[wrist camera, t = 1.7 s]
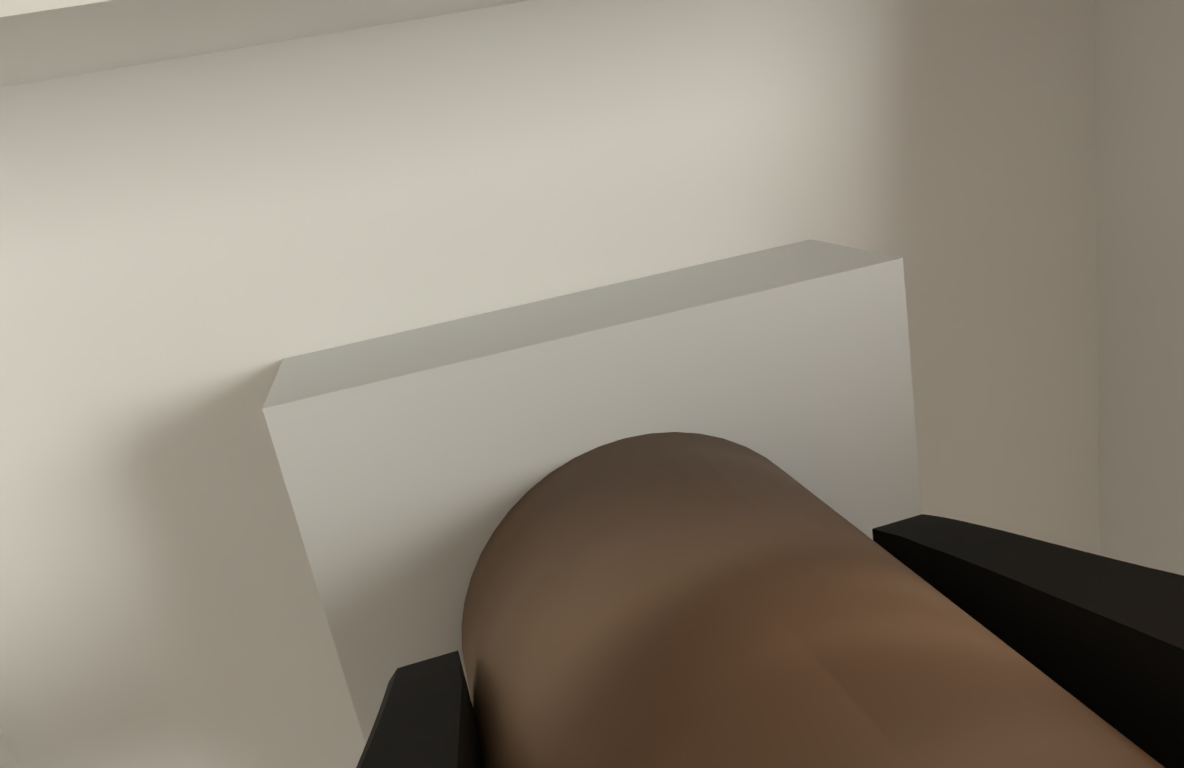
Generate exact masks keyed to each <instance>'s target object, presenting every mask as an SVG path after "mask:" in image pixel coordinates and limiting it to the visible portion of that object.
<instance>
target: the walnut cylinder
mask: <svg viewBox="0 0 1184 768" xmlns="http://www.w3.org/2000/svg"><path fill="white" fill-rule="evenodd" d="M461 628H462V653H463V658H464V664H465V669H466V675H467V681H468V686H469V692H470V697H471V702H472V706H473V710H474V716H475V721H476V727H477V732H478V738H479V743H480V749H481V754H482V760H483V765H484V768H1165V767H1164V766H1162V765H1161V764H1160V763H1158V762H1157V761H1156V760H1155V759H1153V758H1152V757H1151V756H1149V755H1148V754H1147V753H1146V752H1144V751H1143V750H1142V749H1140V748H1139V747H1138V746H1137V745H1135V744H1134V743H1133V742H1131V741H1130V740H1129V739H1128V738H1126V737H1125V736H1124V735H1122V734H1121V733H1120V732H1119V731H1117V730H1116V729H1115V728H1113V727H1112V726H1111V725H1110V724H1108V723H1107V722H1106V721H1104V720H1103V719H1102V718H1101V717H1099V716H1098V715H1097V714H1095V713H1094V712H1093V711H1092V710H1090V709H1089V708H1088V707H1086V706H1085V705H1084V704H1083V703H1081V702H1080V701H1079V700H1078V699H1076V698H1075V697H1074V696H1072V695H1071V694H1070V693H1069V692H1067V691H1066V690H1065V689H1063V688H1062V687H1061V686H1060V685H1058V684H1057V683H1056V682H1054V681H1053V680H1052V679H1051V678H1049V677H1048V676H1047V675H1045V674H1044V673H1043V672H1042V671H1040V670H1039V669H1038V668H1036V667H1035V666H1034V665H1033V664H1031V663H1030V662H1029V661H1027V660H1026V659H1025V658H1024V657H1022V656H1021V655H1020V654H1018V653H1017V652H1016V651H1015V650H1013V649H1012V648H1011V647H1009V646H1008V645H1007V644H1006V643H1004V642H1003V641H1002V640H1000V639H999V638H998V637H997V636H995V635H994V634H993V633H991V632H990V631H989V630H988V629H986V628H985V627H984V626H982V625H981V624H980V623H979V622H977V621H976V620H975V619H973V618H972V617H971V616H970V615H968V614H967V613H966V612H964V611H963V610H962V609H961V608H959V607H958V606H957V605H955V604H954V603H953V602H952V601H950V600H949V599H948V598H946V597H945V596H944V595H943V594H941V593H940V592H939V591H937V590H936V589H935V588H934V587H932V586H931V585H930V584H928V583H927V582H926V581H925V580H923V579H922V578H921V577H920V576H918V575H917V574H916V573H914V572H913V571H912V570H911V569H909V568H908V567H907V566H905V565H904V564H903V563H902V562H900V561H899V560H898V559H896V558H895V557H894V556H893V555H891V554H890V553H889V552H887V551H886V550H885V549H884V548H882V547H881V546H880V545H878V544H877V543H876V542H875V541H873V540H872V539H871V538H869V537H868V536H867V535H866V534H864V533H863V532H862V531H860V530H859V529H858V528H857V527H855V526H854V525H853V524H851V523H850V522H849V521H848V520H846V519H845V518H844V517H842V516H841V515H840V514H839V513H837V512H836V511H835V510H833V509H832V508H831V507H830V506H828V505H827V504H826V503H824V502H823V501H822V500H821V499H819V498H818V497H817V496H815V495H814V494H813V493H812V492H810V491H809V490H808V489H806V488H805V487H804V486H803V485H801V484H800V483H799V482H797V481H796V480H795V479H794V478H792V477H791V476H790V475H788V474H787V473H786V472H785V471H783V470H782V469H781V468H779V467H778V466H777V465H775V464H774V463H773V462H771V461H770V460H769V459H767V458H766V457H764V456H762V455H761V454H759V453H757V452H755V451H753V450H751V449H749V448H748V447H746V446H743V445H740V444H737V443H735V442H732V441H729V440H726V439H724V438H719V437H714V436H709V435H704V434H699V433H685V432H665V433H649V434H644V435H639V436H634V437H629V438H624V439H621V440H618V441H614V442H611V443H608V444H605V445H602V446H599V447H597V448H595V449H592V450H590V451H588V452H586V453H584V454H582V455H580V456H578V457H575V458H573V459H572V460H570V461H569V462H567V463H565V464H564V465H562V466H561V467H559V468H557V469H556V470H554V471H553V472H551V473H550V474H548V475H547V476H546V477H545V478H543V479H542V480H541V481H540V482H538V483H537V484H536V485H535V486H534V487H532V488H531V489H530V490H529V491H528V492H527V493H526V494H525V495H524V496H523V497H522V498H521V499H520V500H519V501H518V502H517V503H516V504H515V505H514V506H513V507H512V508H511V509H510V510H509V512H508V513H507V514H506V516H505V517H504V518H503V520H502V521H501V522H500V524H499V525H498V526H497V528H496V529H495V530H494V532H493V533H492V535H491V537H490V539H489V540H488V542H487V544H486V546H485V547H484V549H483V551H482V553H481V554H480V557H479V559H478V562H477V564H476V567H475V569H474V571H473V574H472V576H471V579H470V583H469V587H468V590H467V594H466V598H465V602H464V610H463V618H462V627H461Z"/></svg>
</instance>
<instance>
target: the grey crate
mask: <svg viewBox="0 0 1184 768" xmlns="http://www.w3.org/2000/svg"><path fill="white" fill-rule="evenodd" d="M665 432H685V433H699V434H704V435H709V436H714V437H719V438H724V439H726V440H729V441H732V442H735V443H737V444H740V445H743V446H746V447H748V448H749V449H751V450H753V451H755V452H757V453H759V454H761V455H762V456H764V457H766V458H767V459H769V460H770V461H771V462H773V463H774V464H775V465H777V466H778V467H779V468H781V469H782V470H783V471H785V472H786V473H787V474H788V475H790V476H791V477H792V478H794V479H795V480H796V481H797V482H799V483H800V484H801V485H803V486H804V487H805V488H806V489H808V490H809V491H810V492H812V493H813V494H814V495H815V496H817V497H818V498H819V499H821V500H822V501H823V502H824V503H826V504H827V505H828V506H830V507H831V508H832V509H833V510H835V511H836V512H837V513H839V514H840V515H841V516H842V517H844V518H845V519H846V520H848V521H849V522H850V523H851V524H853V525H854V526H855V527H857V528H858V529H859V530H860V531H862V532H863V533H864V534H866V535H867V536H868V537H869V538H871V539H872V540H873V534H872V529H873V528H877V527H880V526H883V525H887V524H890V523H894V522H897V521H900V520H904V519H907V518H911V517H914V516H917V515H921V514H926V515H932V516H939V517H945V518H950V519H955V520H960V521H964V522H969V523H973V524H977V525H982V526H986V527H990V528H994V529H998V530H1002V531H1006V532H1010V533H1014V534H1018V535H1022V536H1026V537H1030V538H1034V539H1038V540H1041V541H1045V542H1049V543H1053V544H1057V545H1061V546H1065V547H1069V548H1073V549H1076V550H1080V551H1084V552H1088V553H1092V554H1096V555H1100V556H1104V557H1108V558H1112V559H1116V560H1120V561H1124V562H1128V563H1132V564H1137V565H1141V566H1145V567H1149V568H1153V569H1158V570H1162V571H1166V572H1170V573H1175V574H1179V575H1183V576H1184V0H0V768H356V767H357V765H358V762H359V760H360V757H361V755H362V752H363V750H364V747H365V745H366V743H367V740H368V738H369V735H370V733H371V730H372V728H373V725H374V722H375V720H376V717H377V714H378V712H379V709H380V706H381V703H382V700H383V697H384V695H385V692H386V688H387V685H388V682H389V680H390V679H391V677H392V676H393V674H394V673H395V671H396V670H397V668H400V667H403V666H406V665H410V664H413V663H417V662H420V661H424V660H427V659H430V658H434V657H437V656H441V655H444V654H447V653H451V652H454V651H458V652H459V656H460V660H461V664H462V667H463V671H464V675H465V679H466V683H467V687H468V690H469V686H468V681H467V675H466V669H465V664H464V658H463V653H462V628H461V627H462V618H463V610H464V602H465V598H466V594H467V590H468V587H469V583H470V579H471V576H472V574H473V571H474V569H475V567H476V564H477V562H478V559H479V557H480V554H481V553H482V551H483V549H484V547H485V546H486V544H487V542H488V540H489V539H490V537H491V535H492V533H493V532H494V530H495V529H496V528H497V526H498V525H499V524H500V522H501V521H502V520H503V518H504V517H505V516H506V514H507V513H508V512H509V510H510V509H511V508H512V507H513V506H514V505H515V504H516V503H517V502H518V501H519V500H520V499H521V498H522V497H523V496H524V495H525V494H526V493H527V492H528V491H529V490H530V489H531V488H532V487H534V486H535V485H536V484H537V483H538V482H540V481H541V480H542V479H543V478H545V477H546V476H547V475H548V474H550V473H551V472H553V471H554V470H556V469H557V468H559V467H561V466H562V465H564V464H565V463H567V462H569V461H570V460H572V459H573V458H575V457H578V456H580V455H582V454H584V453H586V452H588V451H590V450H592V449H595V448H597V447H599V446H602V445H605V444H608V443H611V442H614V441H618V440H621V439H624V438H629V437H634V436H639V435H644V434H649V433H665ZM469 694H470V692H469ZM470 698H471V697H470Z"/></svg>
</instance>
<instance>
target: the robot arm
mask: <svg viewBox="0 0 1184 768" xmlns="http://www.w3.org/2000/svg"><path fill="white" fill-rule="evenodd" d="M872 534H873V541H875V542H876V543H877V544H878V545H880V546H881V547H882V548H884V549H885V550H886V551H887V552H889V553H890V554H891V555H893V556H894V557H895V558H896V559H898V560H899V561H900V562H902V563H903V564H904V565H905V566H907V567H908V568H909V569H911V570H912V571H913V572H914V573H916V574H917V575H918V576H920V577H921V578H922V579H923V580H925V581H926V582H927V583H928V584H930V585H931V586H932V587H934V588H935V589H936V590H937V591H939V592H940V593H941V594H943V595H944V596H945V597H946V598H948V599H949V600H950V601H952V602H953V603H954V604H955V605H957V606H958V607H959V608H961V609H962V610H963V611H964V612H966V613H967V614H968V615H970V616H971V617H972V618H973V619H975V620H976V621H977V622H979V623H980V624H981V625H982V626H984V627H985V628H986V629H988V630H989V631H990V632H991V633H993V634H994V635H995V636H997V637H998V638H999V639H1000V640H1002V641H1003V642H1004V643H1006V644H1007V645H1008V646H1009V647H1011V648H1012V649H1013V650H1015V651H1016V652H1017V653H1018V654H1020V655H1021V656H1022V657H1024V658H1025V659H1026V660H1027V661H1029V662H1030V663H1031V664H1033V665H1034V666H1035V667H1036V668H1038V669H1039V670H1040V671H1042V672H1043V673H1044V674H1045V675H1047V676H1048V677H1049V678H1051V679H1052V680H1053V681H1054V682H1056V683H1057V684H1058V685H1060V686H1061V687H1062V688H1063V689H1065V690H1066V691H1067V692H1069V693H1070V694H1071V695H1072V696H1074V697H1075V698H1076V699H1078V700H1079V701H1080V702H1081V703H1083V704H1084V705H1085V706H1086V707H1088V708H1089V709H1090V710H1092V711H1093V712H1094V713H1095V714H1097V715H1098V716H1099V717H1101V718H1102V719H1103V720H1104V721H1106V722H1107V723H1108V724H1110V725H1111V726H1112V727H1113V728H1115V729H1116V730H1117V731H1119V732H1120V733H1121V734H1122V735H1124V736H1125V737H1126V738H1128V739H1129V740H1130V741H1131V742H1133V743H1134V744H1135V745H1137V746H1138V747H1139V748H1140V749H1142V750H1143V751H1144V752H1146V753H1147V754H1148V755H1149V756H1151V757H1152V758H1153V759H1155V760H1156V761H1157V762H1158V763H1160V764H1161V765H1162V766H1164V767H1165V768H1184V576H1183V575H1179V574H1175V573H1170V572H1166V571H1162V570H1158V569H1153V568H1149V567H1145V566H1141V565H1137V564H1132V563H1128V562H1124V561H1120V560H1116V559H1112V558H1108V557H1104V556H1100V555H1096V554H1092V553H1088V552H1084V551H1080V550H1076V549H1073V548H1069V547H1065V546H1061V545H1057V544H1053V543H1049V542H1045V541H1041V540H1038V539H1034V538H1030V537H1026V536H1022V535H1018V534H1014V533H1010V532H1006V531H1002V530H998V529H994V528H990V527H986V526H982V525H977V524H973V523H969V522H964V521H960V520H955V519H950V518H945V517H939V516H932V515H926V514H921V515H917V516H914V517H911V518H907V519H904V520H900V521H897V522H894V523H890V524H887V525H883V526H880V527H877V528H873V529H872ZM356 768H484V765H483V760H482V754H481V749H480V743H479V738H478V732H477V727H476V721H475V716H474V710H473V706H472V702H471V698H470V694H469V690H468V687H467V683H466V679H465V675H464V671H463V667H462V664H461V660H460V656H459V652H458V651H454V652H451V653H447V654H444V655H441V656H437V657H434V658H430V659H427V660H424V661H420V662H417V663H413V664H410V665H406V666H403V667H400V668H397V670H396V671H395V673H394V674H393V676H392V677H391V679H390V680H389V682H388V685H387V688H386V692H385V695H384V697H383V700H382V703H381V706H380V709H379V712H378V714H377V717H376V720H375V722H374V725H373V728H372V730H371V733H370V735H369V738H368V740H367V743H366V745H365V747H364V750H363V752H362V755H361V757H360V760H359V762H358V765H357V767H356Z"/></svg>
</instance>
